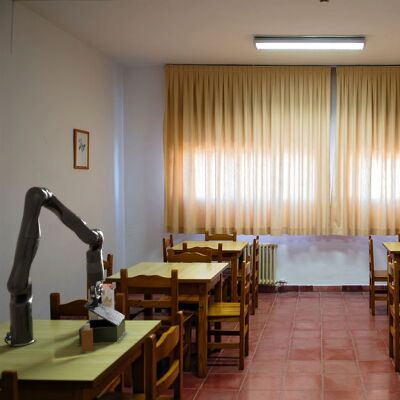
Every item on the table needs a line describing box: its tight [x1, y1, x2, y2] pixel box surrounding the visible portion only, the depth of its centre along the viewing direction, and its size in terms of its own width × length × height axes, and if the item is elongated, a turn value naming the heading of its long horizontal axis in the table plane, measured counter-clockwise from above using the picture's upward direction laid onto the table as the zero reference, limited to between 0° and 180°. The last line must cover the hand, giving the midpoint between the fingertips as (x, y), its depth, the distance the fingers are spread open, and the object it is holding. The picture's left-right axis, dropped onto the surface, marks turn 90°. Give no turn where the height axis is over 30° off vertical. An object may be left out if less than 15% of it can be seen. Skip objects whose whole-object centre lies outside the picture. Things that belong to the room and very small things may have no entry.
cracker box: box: [87, 283, 115, 320], centre depth 262 cm, size 14×6×21 cm, turn 168°
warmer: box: [78, 317, 126, 345], centre depth 240 cm, size 17×16×8 cm
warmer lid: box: [82, 295, 126, 327], centre depth 240 cm, size 18×16×5 cm
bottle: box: [81, 323, 94, 353], centre depth 223 cm, size 5×5×12 cm
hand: (97, 305), depth 239 cm, fingers closed on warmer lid, 6 cm apart
